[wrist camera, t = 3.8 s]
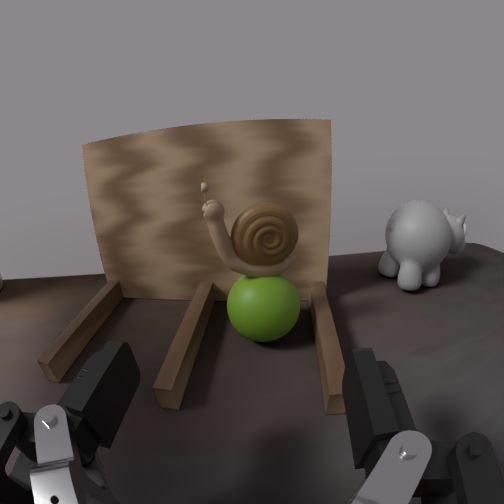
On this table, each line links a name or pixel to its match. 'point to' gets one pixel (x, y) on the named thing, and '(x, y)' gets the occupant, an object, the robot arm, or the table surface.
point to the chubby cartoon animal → (420, 243)
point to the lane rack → (203, 231)
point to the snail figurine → (257, 267)
